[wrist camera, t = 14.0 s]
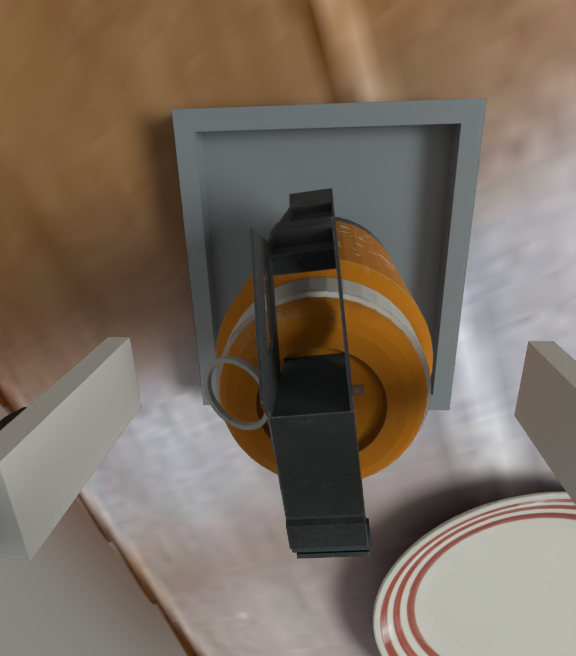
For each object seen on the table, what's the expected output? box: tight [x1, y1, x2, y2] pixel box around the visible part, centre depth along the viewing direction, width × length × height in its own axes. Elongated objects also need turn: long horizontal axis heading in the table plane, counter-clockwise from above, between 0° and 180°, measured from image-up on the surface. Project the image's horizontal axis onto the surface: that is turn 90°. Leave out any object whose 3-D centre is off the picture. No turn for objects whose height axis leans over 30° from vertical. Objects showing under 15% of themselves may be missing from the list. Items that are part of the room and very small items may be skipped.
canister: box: [203, 188, 433, 559], centre depth 21 cm, size 9×11×20 cm
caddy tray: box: [172, 98, 487, 410], centre depth 30 cm, size 19×17×2 cm
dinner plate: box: [373, 492, 576, 656], centre depth 39 cm, size 27×27×3 cm
